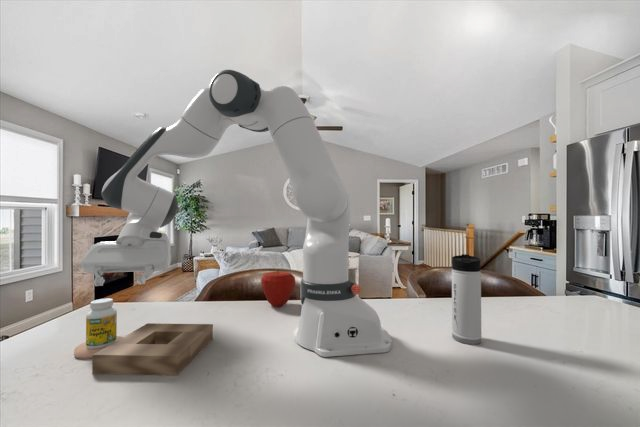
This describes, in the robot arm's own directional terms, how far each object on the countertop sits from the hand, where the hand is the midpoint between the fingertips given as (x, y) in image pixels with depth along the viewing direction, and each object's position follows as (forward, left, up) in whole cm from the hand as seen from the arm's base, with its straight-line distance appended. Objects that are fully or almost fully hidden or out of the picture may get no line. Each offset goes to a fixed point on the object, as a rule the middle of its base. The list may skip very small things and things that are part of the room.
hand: (119, 283), depth 71 cm
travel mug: (-86, 0, -13) cm, 87 cm away
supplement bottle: (-2, +8, -12) cm, 14 cm away
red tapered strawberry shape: (-36, -25, -13) cm, 45 cm away
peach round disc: (-2, +8, -12) cm, 15 cm away
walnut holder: (-17, +10, -12) cm, 23 cm away
